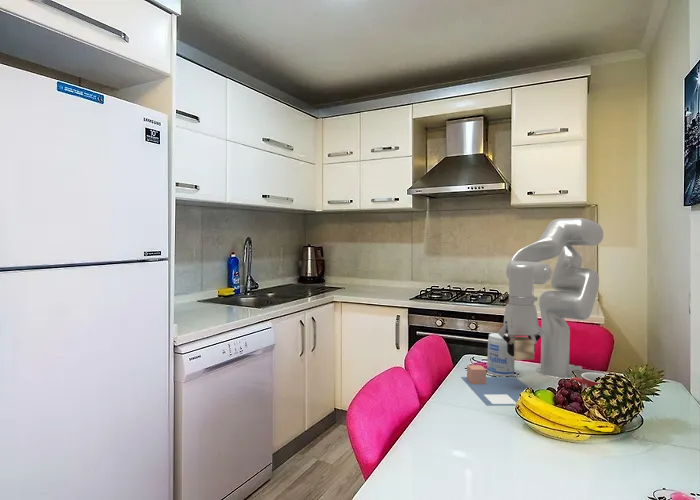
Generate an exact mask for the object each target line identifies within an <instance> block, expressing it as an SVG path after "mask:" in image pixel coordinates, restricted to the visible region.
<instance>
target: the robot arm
mask: <svg viewBox="0 0 700 500" xmlns="http://www.w3.org/2000/svg"><path fill="white" fill-rule="evenodd" d="M603 229H604V228H602V226H601V224H599V223H598V222H595V221H593V220H591V219H588V218H584V217H572V218H570V217H569V218H567V217H566V218H556V219H553V220H552V221H550V222H549V223H548V225H547V227H546V228H545V229H544V231H543V232H542V233H541V236H539V238H538V240H536V241H534V242H532V243H530V244H528V245H526V246H524V247H522V248H521V249H520V248H519V250H518V251H516V252H515V253H514V254H513V256H512V257H511V259H510V260H509V262H508V264H507V266H506V268H505V269H506V270H505V275H506V277H507V278H508V304H506V305H505V310H504V314H503V315H504V317H503V325H502V326H501V328H500V329H499V330H498V331H497V333H498V334H499V335H500V336H501V337H502V338H503V339H504V340H505V341H506V342H507V352H508V354H509V355H511V356H514V344H513V341H514V338H515V337H524V336H526V337H528V338H530V339H531V340H533V341H534V353H535V352H536V344H537V342H538V341H539V340H540V339H541V340H540V341H541V342H540V367H539V368H536V370H535V372H536V373H537V374H539V375H542V376H545V377H549V378H554V379H555V378H556V379H561V378H572V377H573V375H574V374H572V373H573V372H572V371H574V372H583V367H582V366H581V365H575V364H570V340H571V337H570V336H571V329H570V325H568V323H567V321H566V319H571V320H579V321H585V320H587V319H589V318H590V317H591V315H592V312H593V310H594V305H595V303H596V302H595V301H596V298H597V296H598V295H597V294H598V291H599V287H600V277H599V273H598V272H597V271H596V270H594V269H592V268H589V267H588V268H587V267H582V263H583V258H582V255H581V254H580V252H578V250H577V249H575V247H574V246H584V247H585V246H587V247H588V246H590V247H591V246H598V245H600V244H601V243H602V241H603V239H604V230H603ZM556 257H557V261H556V264H555V267H554V270H553V272H552V269H551V267H550V265H549V264H547V263H546V262H544V261H547V260H551V259H554V258H556ZM550 279H551V281H550ZM549 281H550V283H551V284H550V285H551V288H553V290H547V291H543V292H542V293H541V295H540V297H539V300H538V297H537V296H535V295H534V294H535V293H534V291H535V290H534V285H544V284H546V283H548V282H549ZM535 302H538V305H539V310H540V319H541V325H539V319H538V312H537V308H536V305H535ZM505 334H508V336H506V335H505Z"/></svg>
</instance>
